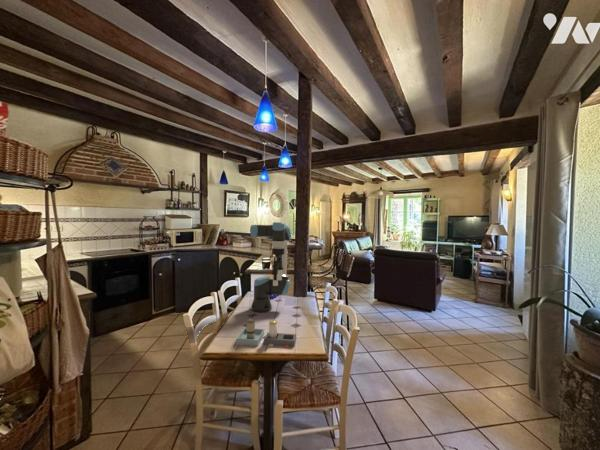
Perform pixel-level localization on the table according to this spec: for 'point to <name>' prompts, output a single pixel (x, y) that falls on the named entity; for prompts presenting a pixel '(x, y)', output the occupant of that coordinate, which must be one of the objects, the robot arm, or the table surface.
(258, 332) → the parts tray
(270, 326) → the fuse
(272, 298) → the cable clip
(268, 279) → the robot arm
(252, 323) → the fuse
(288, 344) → the fuse block
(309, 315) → the table surface
